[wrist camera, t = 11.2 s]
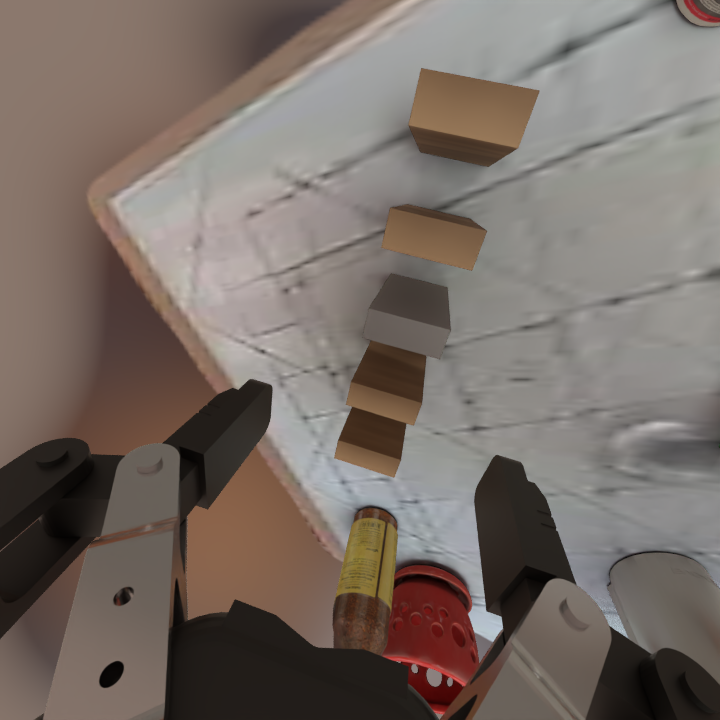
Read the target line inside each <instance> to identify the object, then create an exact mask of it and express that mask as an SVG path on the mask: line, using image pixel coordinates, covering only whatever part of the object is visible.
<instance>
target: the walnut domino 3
mask: <svg viewBox="0 0 720 720" xmlns="http://www.w3.org/2000/svg"><path fill="white" fill-rule="evenodd" d="M538 94H539V90H533V89H528V88H523V87H518V86H512V85H507V84H502V83H496V82H491V81H486V80H481V79H475V78H470V77H465V76H460V75H454V74H449V73H444V72H438V71H433V70H428V69H423V68H421V71H420V76H419V80H418V85H417V89H416V94H415V98H414V103H413V107H412V112H411V116H410V121H409V127H410V130H411V132H412V134H413V136H414V139H415V141H416V143H417V145H418V147H419V150H420V152H422V153H427V154H432V155H436V156H441V157H445V158H450V159H455V160H459V161H464V162H468V163H473V164H478V165H482V166H487V167H489V166H491V165H492V164H494V163H495V162H497V161H498V160H500V159H502V158H503V157H505V156H506V155H508V154H510V153H511V152H513V151H514V150H516V149H518V147H519V144H520V142H521V139H522V136H523V134H524V131H525V128H526V126H527V123H528V120H529V118H530V115H531V112H532V110H533V107H534V104H535V102H536V99H537V97H538Z"/></svg>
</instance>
